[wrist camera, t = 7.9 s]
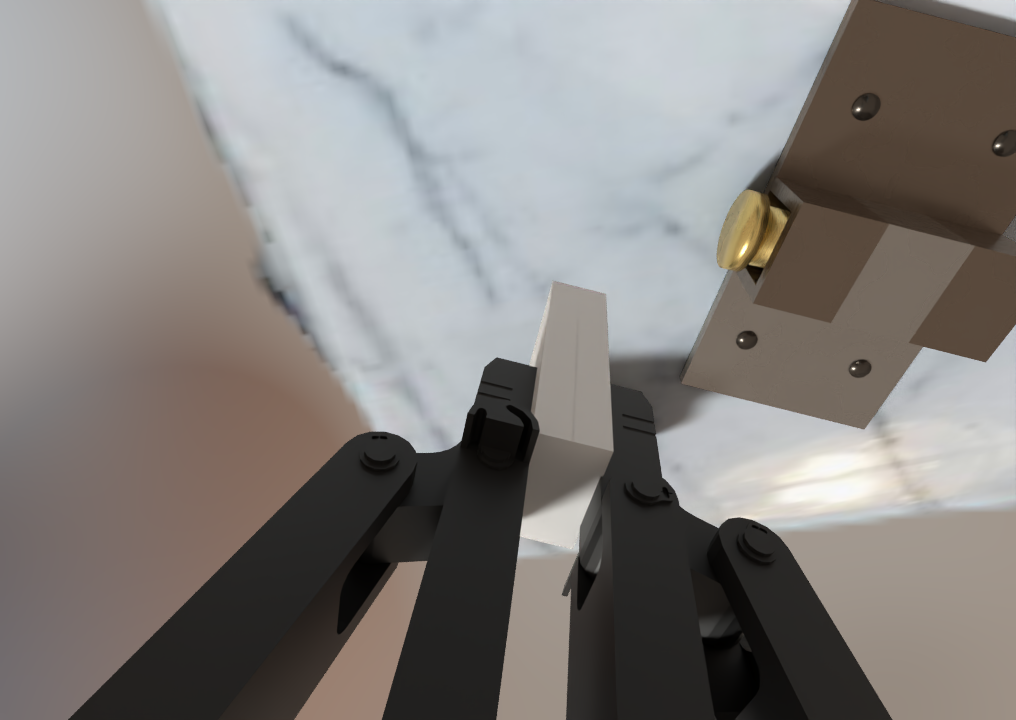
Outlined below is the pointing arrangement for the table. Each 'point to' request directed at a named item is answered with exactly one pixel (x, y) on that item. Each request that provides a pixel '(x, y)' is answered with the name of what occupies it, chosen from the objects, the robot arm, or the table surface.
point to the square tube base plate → (878, 223)
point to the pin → (750, 231)
